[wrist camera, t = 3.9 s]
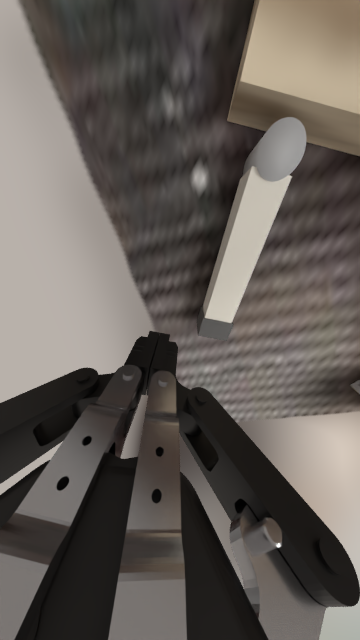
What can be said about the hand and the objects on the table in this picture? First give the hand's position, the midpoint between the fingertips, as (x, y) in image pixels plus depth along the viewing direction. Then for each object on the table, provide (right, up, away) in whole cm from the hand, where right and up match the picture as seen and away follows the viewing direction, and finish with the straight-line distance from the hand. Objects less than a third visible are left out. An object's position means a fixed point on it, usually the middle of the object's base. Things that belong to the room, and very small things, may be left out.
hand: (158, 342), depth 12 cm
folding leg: (+8, +9, +6) cm, 13 cm away
